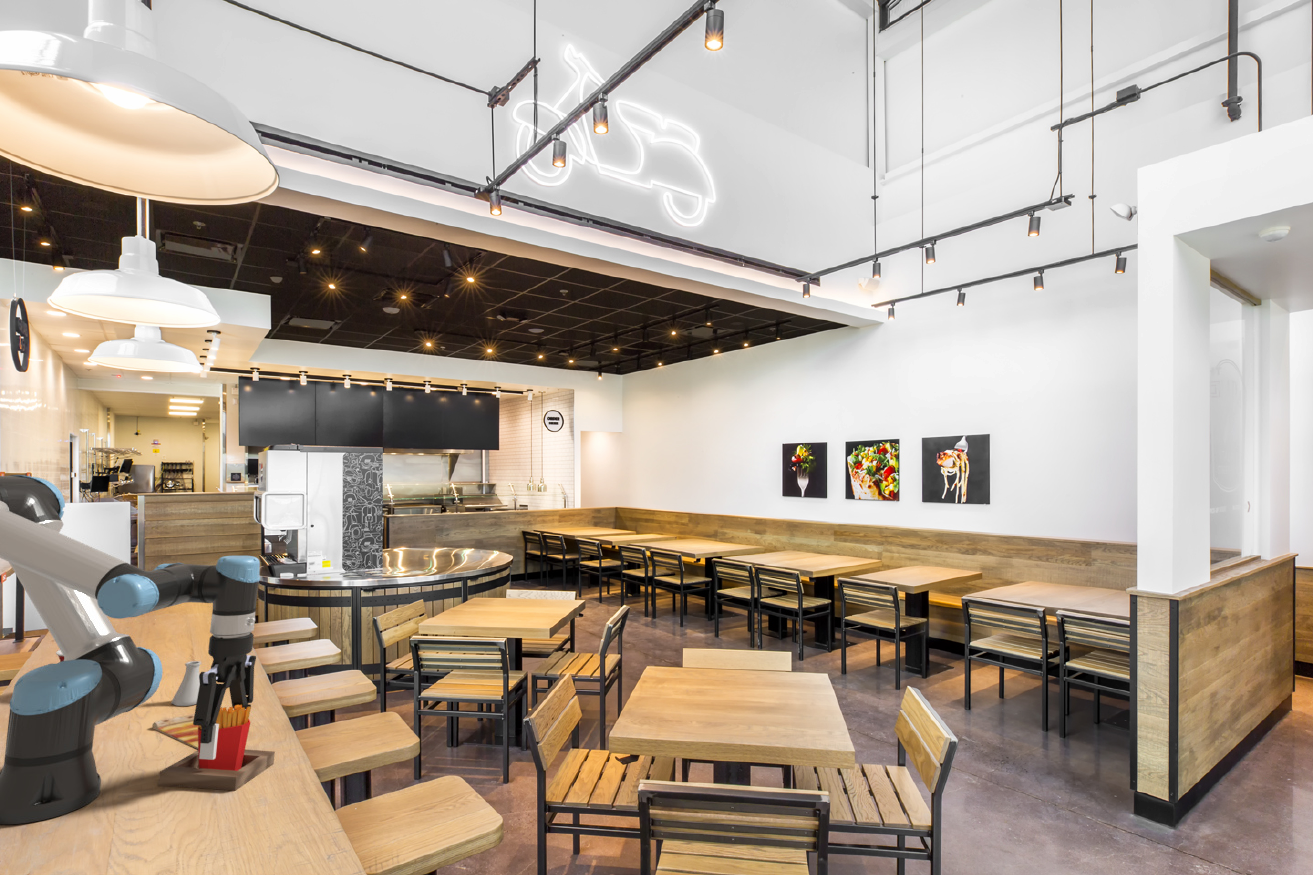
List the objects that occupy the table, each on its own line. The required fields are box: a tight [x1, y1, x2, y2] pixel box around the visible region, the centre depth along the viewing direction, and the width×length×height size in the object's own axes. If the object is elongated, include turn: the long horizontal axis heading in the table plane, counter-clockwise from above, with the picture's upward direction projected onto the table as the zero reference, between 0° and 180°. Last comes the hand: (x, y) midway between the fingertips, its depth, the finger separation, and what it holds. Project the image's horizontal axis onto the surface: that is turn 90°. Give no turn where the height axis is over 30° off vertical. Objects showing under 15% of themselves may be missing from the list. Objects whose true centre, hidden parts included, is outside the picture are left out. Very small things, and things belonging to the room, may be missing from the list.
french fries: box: [197, 705, 252, 771], centre depth 131 cm, size 9×4×13 cm, turn 130°
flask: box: [170, 660, 202, 707], centre depth 169 cm, size 7×7×10 cm
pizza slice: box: [151, 713, 199, 750], centre depth 149 cm, size 16×22×2 cm
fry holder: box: [157, 748, 276, 791], centre depth 130 cm, size 12×15×2 cm
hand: (220, 750), depth 131 cm, fingers closed on french fries, 7 cm apart
